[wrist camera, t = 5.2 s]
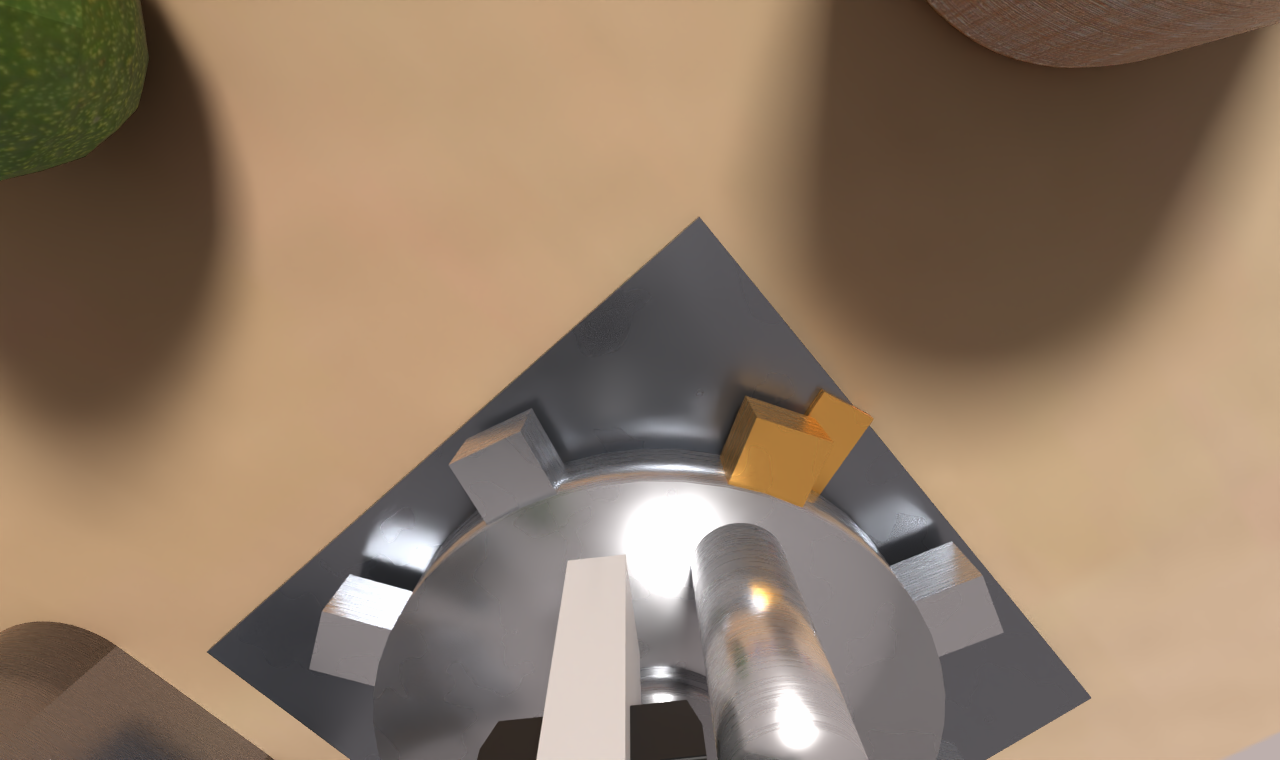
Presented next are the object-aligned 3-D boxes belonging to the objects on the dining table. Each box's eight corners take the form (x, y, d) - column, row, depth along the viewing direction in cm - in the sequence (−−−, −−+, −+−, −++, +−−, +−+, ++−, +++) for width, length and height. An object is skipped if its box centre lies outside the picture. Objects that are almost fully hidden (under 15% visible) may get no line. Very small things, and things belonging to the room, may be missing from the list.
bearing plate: (210, 647, 19) (200, 659, 18) (704, 211, 15) (706, 212, 15) (629, 961, 23) (629, 977, 23) (1092, 690, 20) (1103, 702, 19)
